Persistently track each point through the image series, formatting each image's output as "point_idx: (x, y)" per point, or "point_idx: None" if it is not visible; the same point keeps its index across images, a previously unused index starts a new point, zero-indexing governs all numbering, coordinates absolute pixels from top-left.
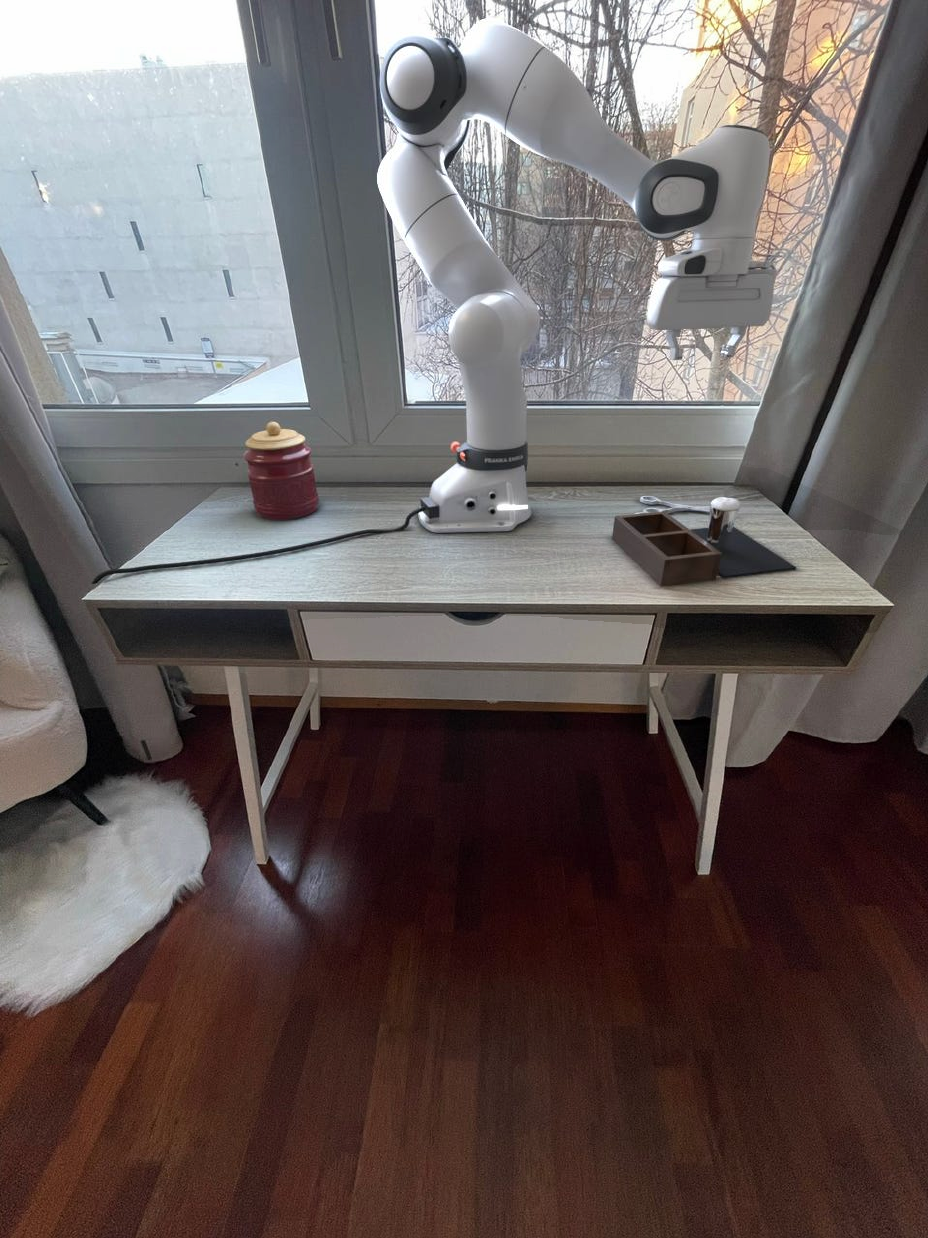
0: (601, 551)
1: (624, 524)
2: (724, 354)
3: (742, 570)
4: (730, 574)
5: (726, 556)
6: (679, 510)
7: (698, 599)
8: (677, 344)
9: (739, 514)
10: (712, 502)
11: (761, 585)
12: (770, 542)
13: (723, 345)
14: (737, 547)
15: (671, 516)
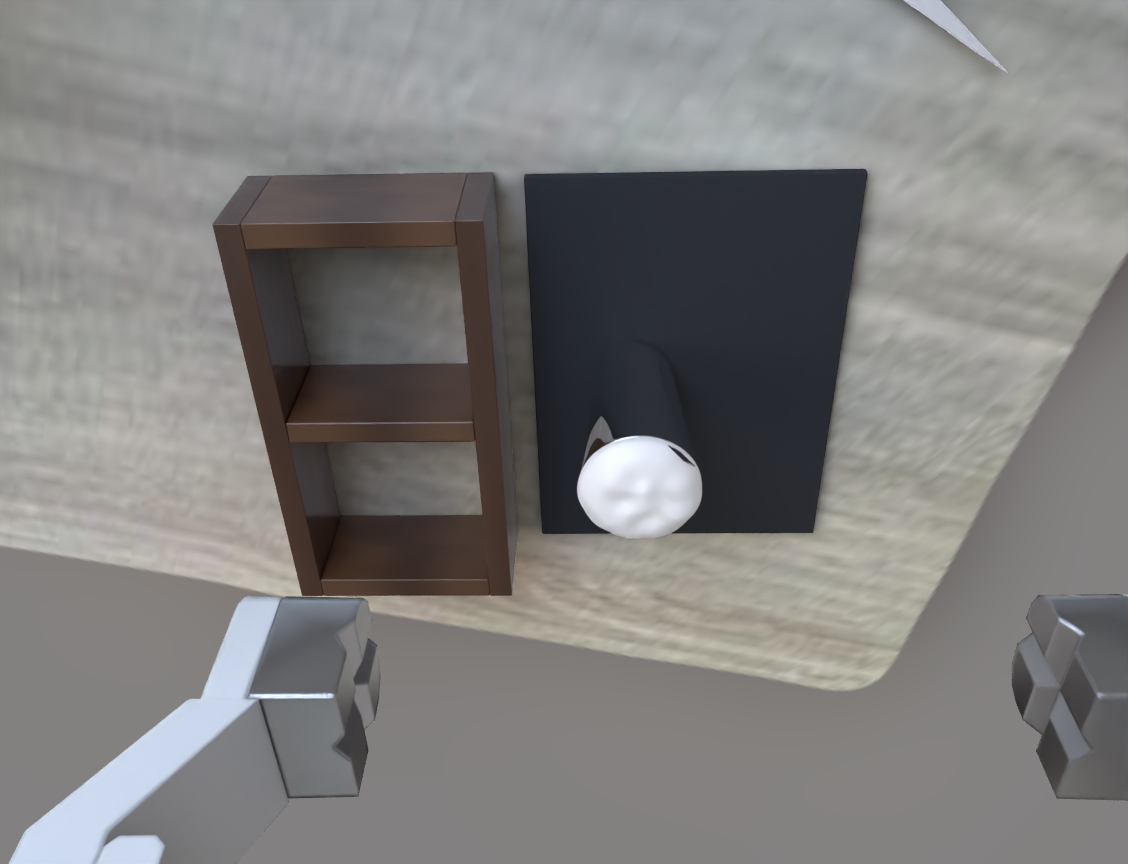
0: (178, 272)
1: (236, 322)
2: (1030, 669)
3: None
4: (570, 529)
5: None
6: None
7: (406, 603)
8: (231, 848)
9: (1004, 69)
10: (585, 479)
11: (632, 579)
12: (905, 343)
13: (1084, 718)
14: (727, 376)
15: (486, 287)
